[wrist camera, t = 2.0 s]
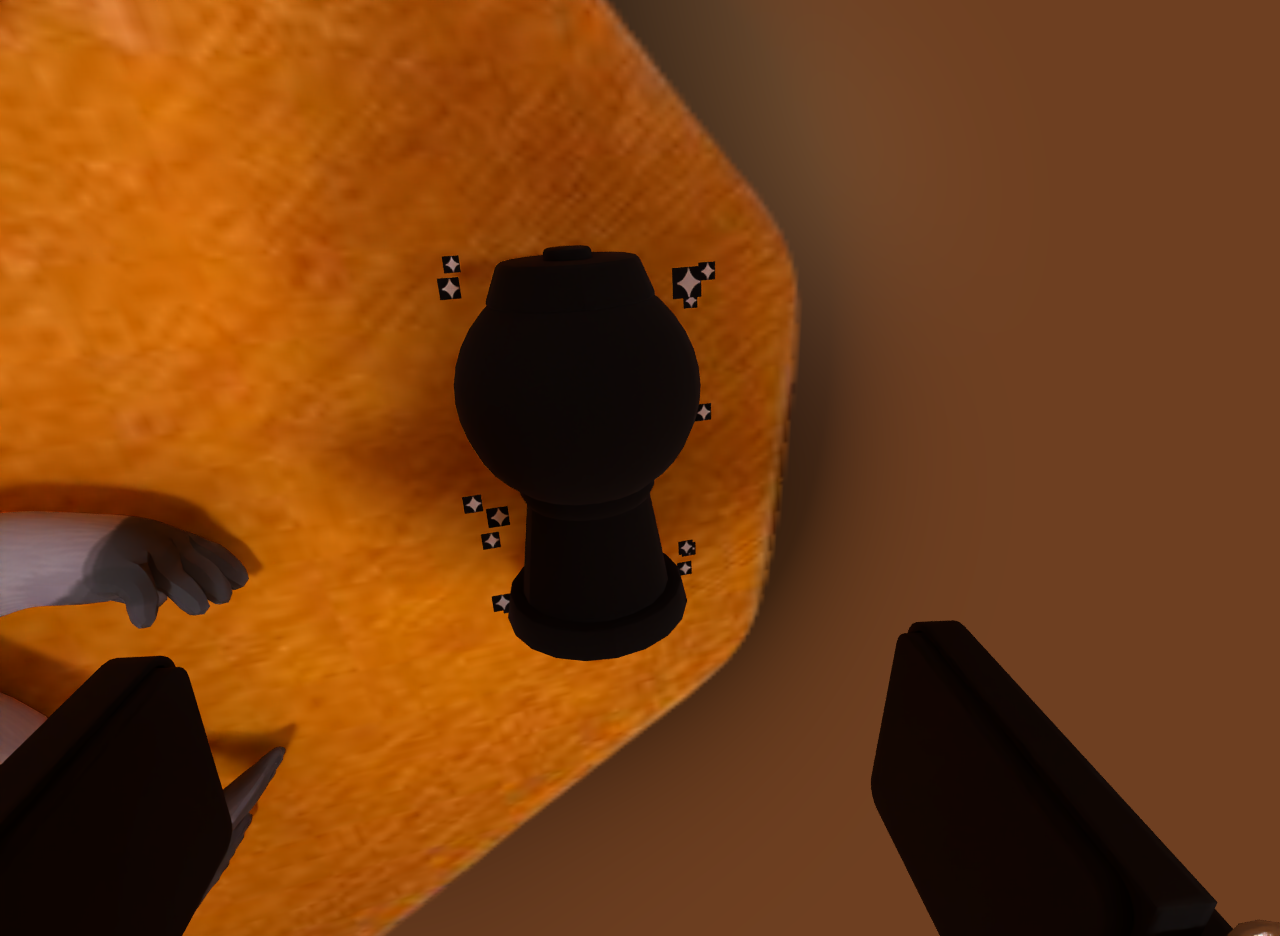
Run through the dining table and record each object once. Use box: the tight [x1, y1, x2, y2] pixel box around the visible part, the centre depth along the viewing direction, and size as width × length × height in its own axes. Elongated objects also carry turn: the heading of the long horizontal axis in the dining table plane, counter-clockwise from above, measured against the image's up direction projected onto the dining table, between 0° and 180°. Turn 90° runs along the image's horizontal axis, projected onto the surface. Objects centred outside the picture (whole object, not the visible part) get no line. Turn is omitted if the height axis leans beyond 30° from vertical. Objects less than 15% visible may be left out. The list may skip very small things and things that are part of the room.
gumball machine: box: [437, 245, 715, 661], centre depth 17 cm, size 7×6×10 cm
